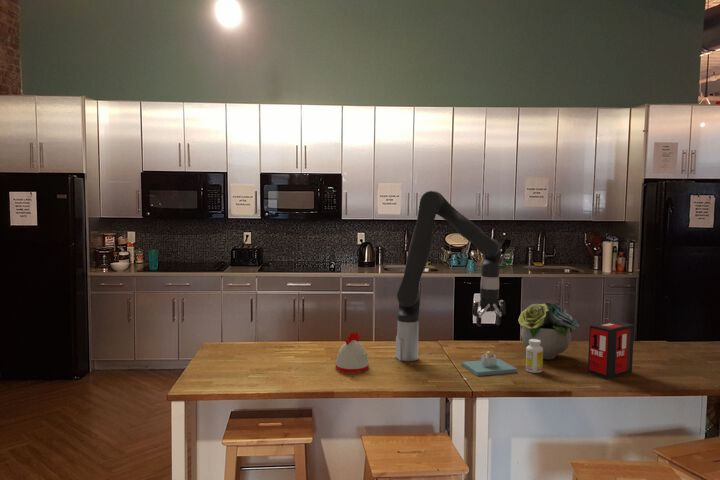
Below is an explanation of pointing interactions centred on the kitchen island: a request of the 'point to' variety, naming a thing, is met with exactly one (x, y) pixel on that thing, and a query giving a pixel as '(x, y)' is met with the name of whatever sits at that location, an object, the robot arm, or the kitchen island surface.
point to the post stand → (480, 370)
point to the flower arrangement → (547, 328)
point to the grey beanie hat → (352, 355)
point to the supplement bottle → (534, 356)
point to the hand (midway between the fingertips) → (488, 325)
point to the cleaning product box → (610, 349)
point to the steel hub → (488, 361)
